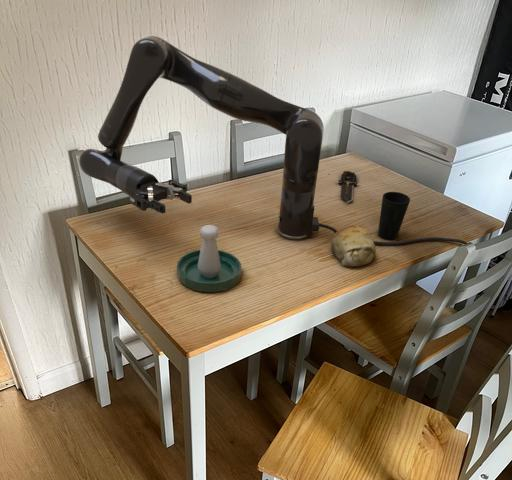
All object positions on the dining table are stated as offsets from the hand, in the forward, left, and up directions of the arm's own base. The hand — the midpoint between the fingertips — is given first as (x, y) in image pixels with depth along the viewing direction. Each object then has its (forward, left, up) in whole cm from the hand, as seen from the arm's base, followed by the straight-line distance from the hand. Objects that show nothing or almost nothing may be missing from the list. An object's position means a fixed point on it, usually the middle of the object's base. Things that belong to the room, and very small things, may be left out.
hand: (177, 204), depth 132 cm
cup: (-60, -16, -15) cm, 64 cm away
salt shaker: (-8, +8, -15) cm, 19 cm away
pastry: (-47, -4, -15) cm, 50 cm away
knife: (-54, -48, -15) cm, 74 cm away
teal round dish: (-8, +8, -15) cm, 19 cm away
